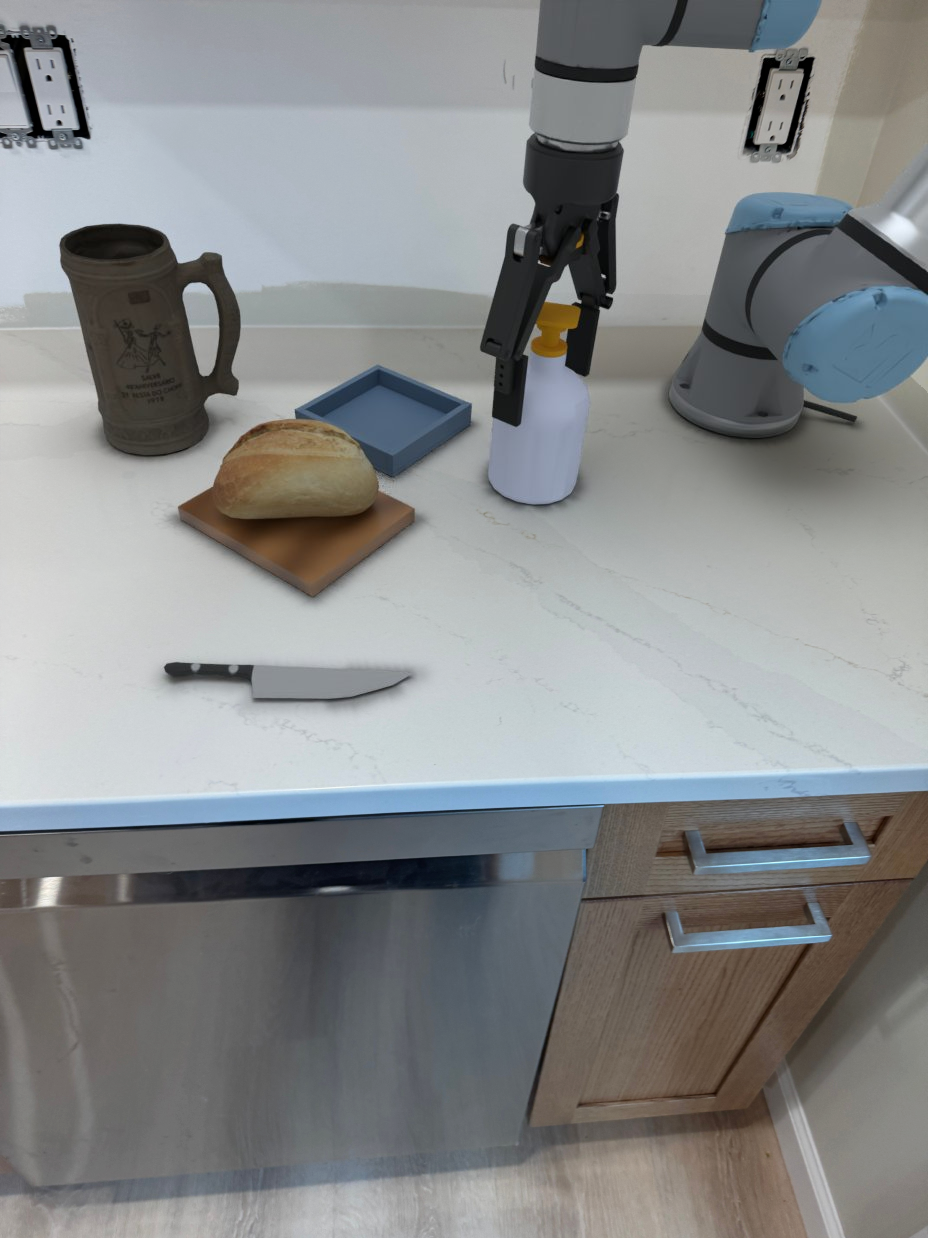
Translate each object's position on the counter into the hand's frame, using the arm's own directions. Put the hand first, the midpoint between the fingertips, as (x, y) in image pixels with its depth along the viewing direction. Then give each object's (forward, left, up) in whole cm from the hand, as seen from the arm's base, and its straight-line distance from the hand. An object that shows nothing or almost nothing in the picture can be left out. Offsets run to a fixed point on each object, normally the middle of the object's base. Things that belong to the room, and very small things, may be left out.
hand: (542, 394), depth 78 cm
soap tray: (+18, +2, -10) cm, 21 cm away
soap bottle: (0, 0, -10) cm, 10 cm away
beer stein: (+35, +16, -10) cm, 40 cm away
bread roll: (+13, +20, -8) cm, 25 cm away
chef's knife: (-1, +36, -10) cm, 37 cm away
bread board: (+13, +20, -10) cm, 26 cm away
